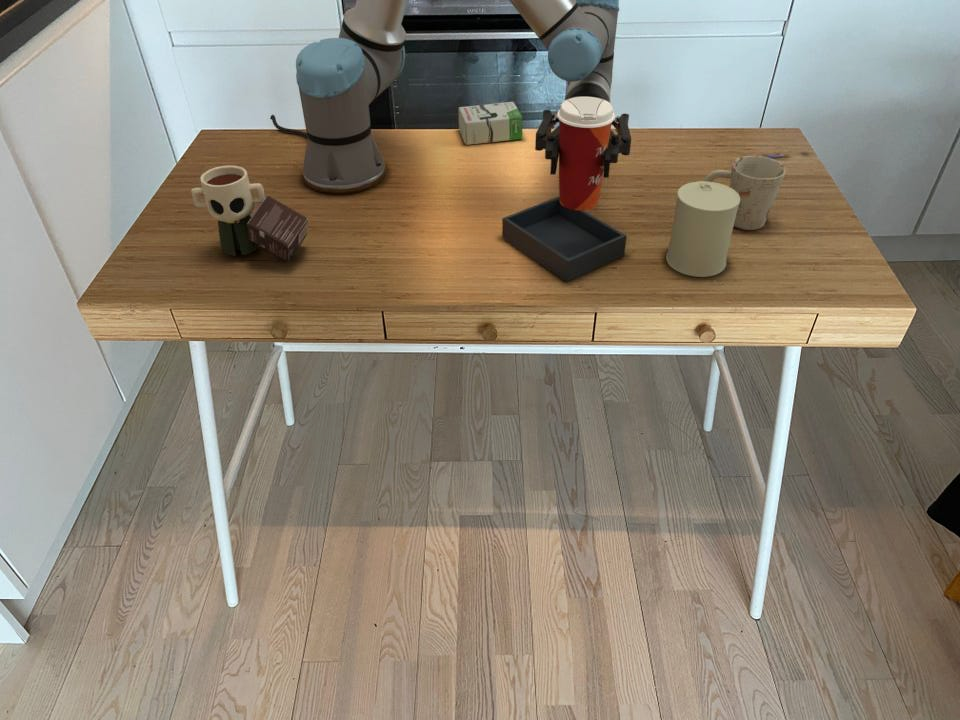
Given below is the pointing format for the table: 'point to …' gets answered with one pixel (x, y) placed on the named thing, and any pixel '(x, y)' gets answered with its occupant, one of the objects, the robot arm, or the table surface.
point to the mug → (753, 188)
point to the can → (702, 228)
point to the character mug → (230, 205)
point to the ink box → (490, 123)
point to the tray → (563, 238)
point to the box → (277, 228)
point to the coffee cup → (582, 150)
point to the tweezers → (776, 155)
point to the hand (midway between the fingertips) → (580, 167)
